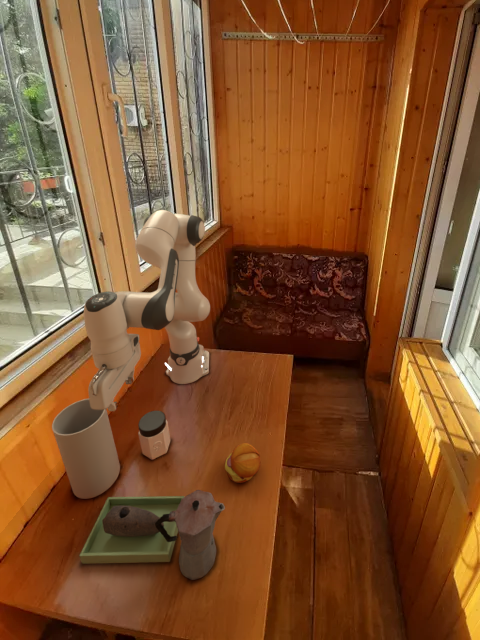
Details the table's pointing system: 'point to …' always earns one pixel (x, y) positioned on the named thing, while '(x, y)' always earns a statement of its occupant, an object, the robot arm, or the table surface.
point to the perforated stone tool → (130, 522)
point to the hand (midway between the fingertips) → (122, 395)
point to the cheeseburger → (242, 463)
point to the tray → (132, 548)
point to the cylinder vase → (86, 448)
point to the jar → (154, 434)
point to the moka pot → (194, 532)
